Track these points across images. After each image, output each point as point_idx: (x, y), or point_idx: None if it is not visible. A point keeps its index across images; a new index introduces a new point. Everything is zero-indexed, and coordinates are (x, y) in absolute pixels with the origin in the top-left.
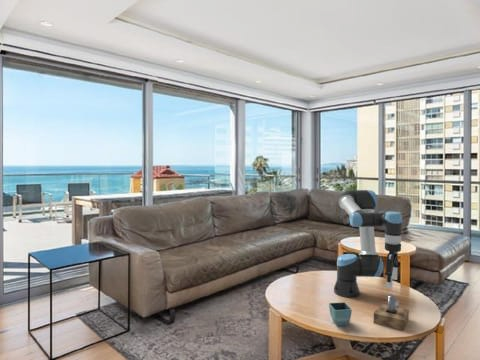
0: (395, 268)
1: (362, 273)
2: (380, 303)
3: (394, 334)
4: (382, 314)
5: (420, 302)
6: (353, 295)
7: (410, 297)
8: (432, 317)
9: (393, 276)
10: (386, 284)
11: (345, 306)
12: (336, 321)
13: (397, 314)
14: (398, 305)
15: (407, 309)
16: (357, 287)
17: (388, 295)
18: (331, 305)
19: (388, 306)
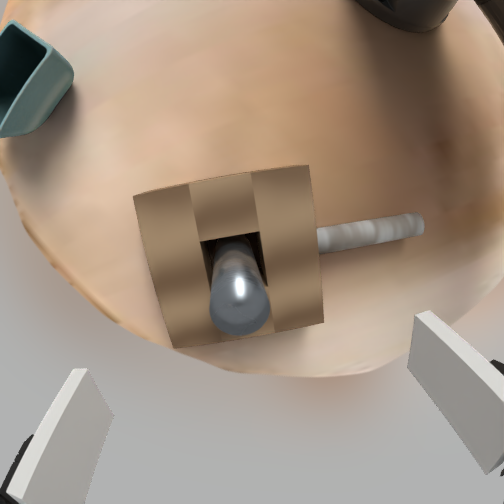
0: (489, 454)
1: (490, 7)
2: (308, 169)
3: (118, 303)
4: (154, 241)
5: (479, 274)
6: (374, 9)
7: (500, 230)
8: (381, 353)
9: (432, 357)
10: (61, 397)
11: (46, 69)
12: (1, 102)
13: None
14: (384, 241)
15: (323, 317)
16: (426, 12)
17: (233, 285)
18: (19, 29)
19: (216, 263)
